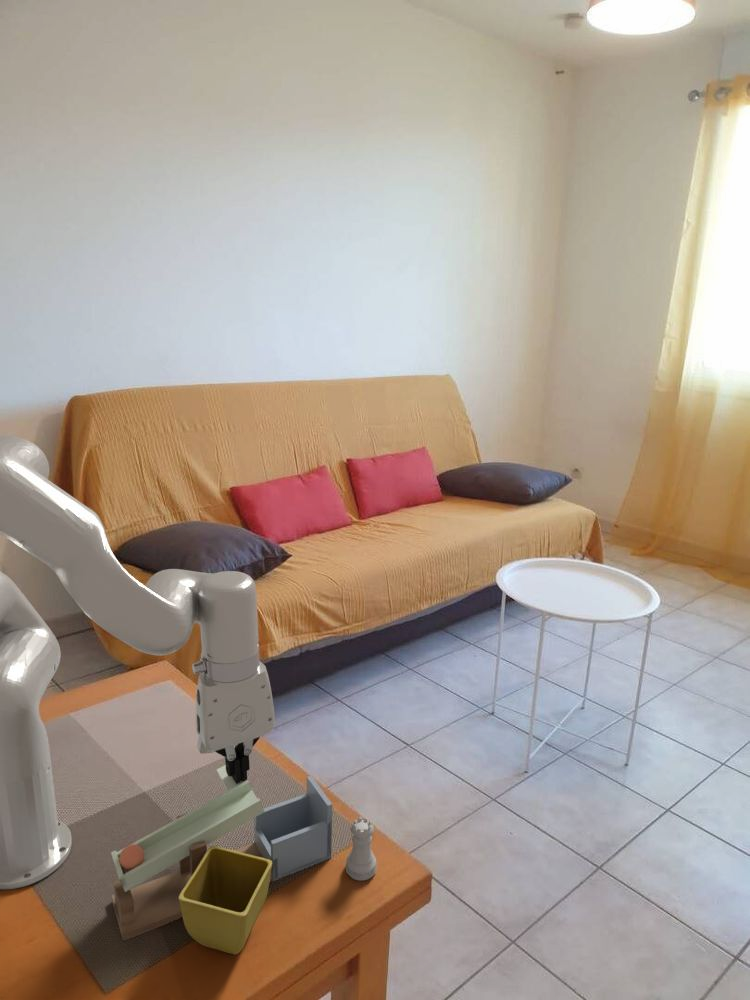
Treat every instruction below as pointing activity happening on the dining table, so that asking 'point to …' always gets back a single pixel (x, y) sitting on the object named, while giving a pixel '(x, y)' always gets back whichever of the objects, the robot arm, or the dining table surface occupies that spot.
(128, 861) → the ball
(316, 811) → the blue-grey box
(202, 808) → the lever
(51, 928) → the dining table surface
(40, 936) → the dining table surface
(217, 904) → the flower pot
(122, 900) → the catapult base
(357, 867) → the rook chess piece
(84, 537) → the robot arm
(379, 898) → the dining table surface
